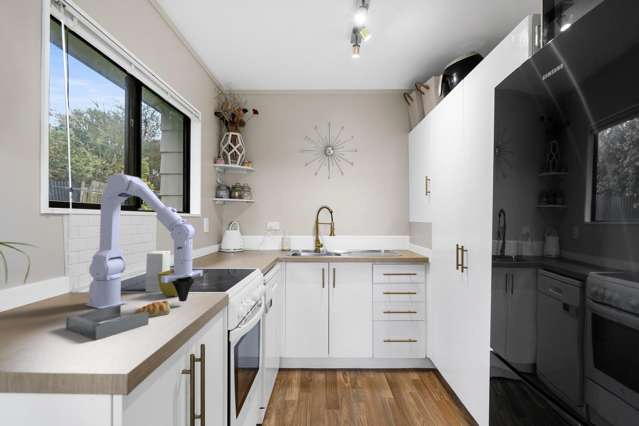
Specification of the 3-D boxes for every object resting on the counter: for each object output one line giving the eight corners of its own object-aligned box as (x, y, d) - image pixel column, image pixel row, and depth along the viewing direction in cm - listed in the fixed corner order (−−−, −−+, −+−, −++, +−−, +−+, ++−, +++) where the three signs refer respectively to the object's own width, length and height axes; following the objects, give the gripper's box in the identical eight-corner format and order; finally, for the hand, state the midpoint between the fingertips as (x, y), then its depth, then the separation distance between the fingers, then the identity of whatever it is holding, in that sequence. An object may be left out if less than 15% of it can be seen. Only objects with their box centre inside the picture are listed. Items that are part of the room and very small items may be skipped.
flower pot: (156, 297, 113) (156, 272, 113) (171, 291, 122) (171, 269, 122) (178, 298, 111) (178, 273, 112) (191, 292, 120) (192, 269, 120)
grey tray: (65, 328, 80) (65, 316, 80) (117, 315, 92) (117, 304, 92) (96, 340, 73) (96, 326, 73) (148, 324, 84) (148, 312, 84)
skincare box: (154, 287, 128) (155, 250, 129) (170, 287, 129) (171, 250, 129) (144, 292, 120) (145, 252, 120) (162, 292, 121) (163, 252, 121)
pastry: (136, 321, 87) (136, 307, 87) (132, 315, 92) (132, 303, 92) (171, 314, 93) (172, 302, 93) (165, 309, 98) (166, 297, 99)
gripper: (171, 263, 94) (170, 307, 94) (208, 258, 107) (208, 297, 107) (157, 261, 98) (156, 304, 97) (195, 257, 110) (194, 295, 110)
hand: (182, 300), depth 102 cm, fingers closed
